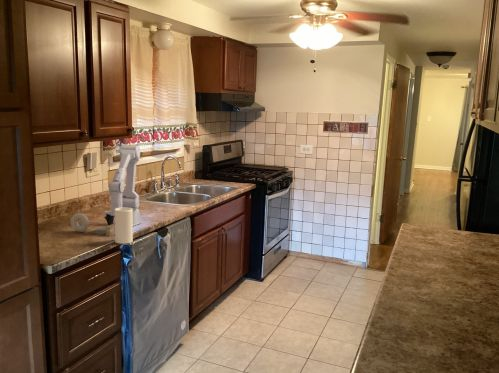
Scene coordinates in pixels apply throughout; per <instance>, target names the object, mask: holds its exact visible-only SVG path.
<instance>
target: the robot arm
mask: <svg viewBox="0 0 499 373" xmlns="http://www.w3.org/2000/svg"><path fill="white" fill-rule="evenodd" d="M140 149H141V148H140V146H138V145H124V144H121V146H120V147H119V149H118V150H119V152H118V153H119V157H120V160H119V166H118V168H117V169H116V170H115V171H114V175H113V177H112V180H111V181H110V182H109V184H108V192H109V196H110V210H105V211H103V213H104V219H105V221H106V223H107V226H109V225H112V224H114V222H115V209H116V208H122V207H127V208H132V209H133V227H134V226H136V225H137V226H138V225H140V224H142V222H141V220H140V219H141V218H140V217H141V213H140V209H139V207H140V195H139V194H138V193H137V192H136V191H135V186H136V176H137V163H138V162H139V161H140V159H141V150H140Z"/></svg>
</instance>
